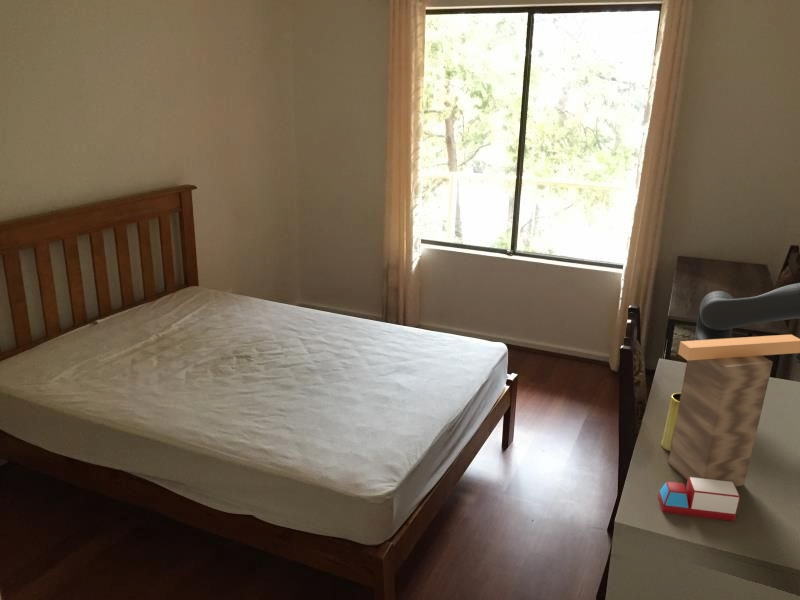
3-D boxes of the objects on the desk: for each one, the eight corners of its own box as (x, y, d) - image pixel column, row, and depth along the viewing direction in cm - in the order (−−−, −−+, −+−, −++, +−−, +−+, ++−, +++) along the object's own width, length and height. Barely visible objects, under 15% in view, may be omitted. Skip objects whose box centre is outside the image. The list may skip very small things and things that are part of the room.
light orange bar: (788, 346, 152) (791, 334, 151) (799, 352, 149) (802, 340, 148) (678, 353, 147) (680, 341, 146) (687, 360, 144) (689, 348, 143)
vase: (685, 442, 172) (694, 394, 167) (686, 455, 167) (696, 405, 162) (660, 438, 174) (669, 390, 169) (661, 450, 168) (669, 401, 164)
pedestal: (709, 456, 166) (734, 340, 155) (744, 485, 155) (772, 361, 144) (668, 463, 163) (690, 344, 152) (700, 492, 152) (726, 367, 141)
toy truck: (657, 497, 151) (662, 473, 148) (727, 506, 148) (733, 481, 146) (662, 513, 146) (666, 487, 143) (734, 522, 143) (740, 496, 141)
